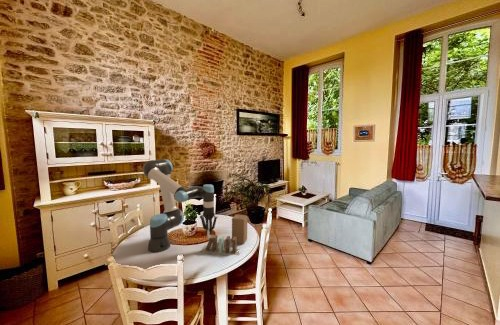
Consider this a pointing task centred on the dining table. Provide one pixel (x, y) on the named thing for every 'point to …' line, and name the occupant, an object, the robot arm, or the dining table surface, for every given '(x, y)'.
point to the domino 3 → (227, 244)
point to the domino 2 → (214, 243)
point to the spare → (221, 243)
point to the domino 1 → (209, 243)
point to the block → (239, 228)
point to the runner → (218, 251)
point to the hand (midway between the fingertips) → (209, 238)
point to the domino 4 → (234, 245)
